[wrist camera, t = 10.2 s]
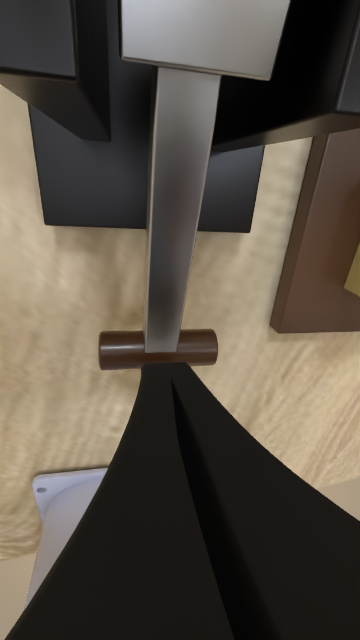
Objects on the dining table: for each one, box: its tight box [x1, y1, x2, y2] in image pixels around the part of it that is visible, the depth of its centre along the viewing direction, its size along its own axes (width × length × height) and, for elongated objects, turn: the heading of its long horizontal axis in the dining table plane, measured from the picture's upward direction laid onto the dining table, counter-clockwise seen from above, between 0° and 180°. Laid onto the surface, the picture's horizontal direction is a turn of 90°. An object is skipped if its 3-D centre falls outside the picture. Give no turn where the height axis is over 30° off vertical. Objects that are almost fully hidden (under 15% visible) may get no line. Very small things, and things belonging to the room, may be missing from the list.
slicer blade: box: [99, 0, 292, 370], centre depth 7 cm, size 11×4×2 cm, turn 176°
